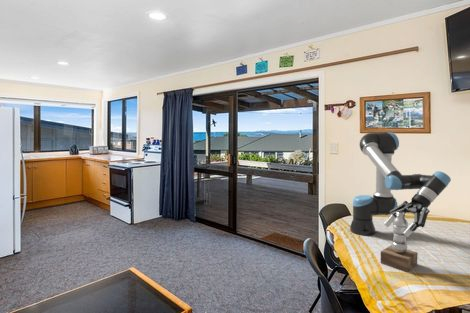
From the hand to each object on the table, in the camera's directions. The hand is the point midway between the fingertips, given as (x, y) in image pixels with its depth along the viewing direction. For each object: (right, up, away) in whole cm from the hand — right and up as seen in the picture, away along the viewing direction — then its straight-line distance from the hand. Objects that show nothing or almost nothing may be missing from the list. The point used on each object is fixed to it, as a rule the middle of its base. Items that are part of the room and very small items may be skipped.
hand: (395, 230), depth 133 cm
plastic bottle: (+3, -11, +1) cm, 12 cm away
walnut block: (+3, -17, +2) cm, 17 cm away
